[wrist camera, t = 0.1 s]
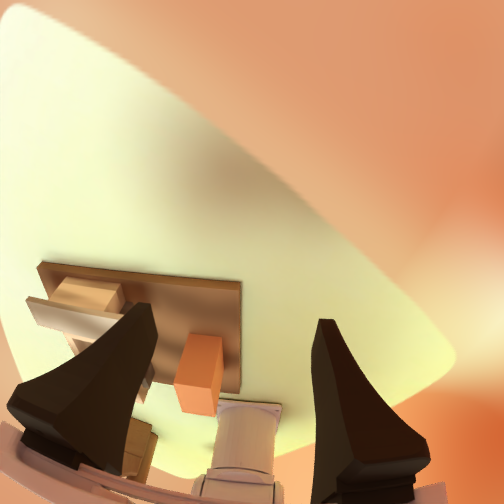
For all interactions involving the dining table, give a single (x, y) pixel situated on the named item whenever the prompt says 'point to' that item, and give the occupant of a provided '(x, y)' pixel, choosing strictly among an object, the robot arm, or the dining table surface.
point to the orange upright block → (200, 375)
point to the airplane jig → (163, 307)
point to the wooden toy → (138, 451)
